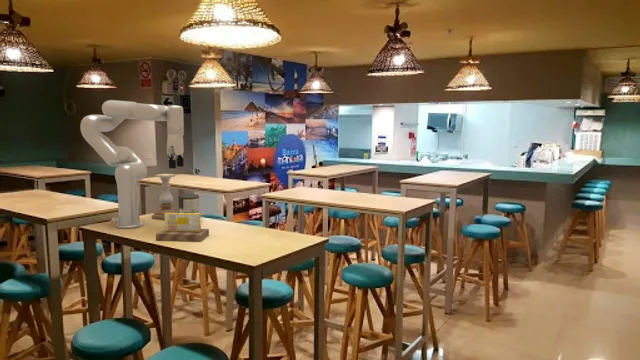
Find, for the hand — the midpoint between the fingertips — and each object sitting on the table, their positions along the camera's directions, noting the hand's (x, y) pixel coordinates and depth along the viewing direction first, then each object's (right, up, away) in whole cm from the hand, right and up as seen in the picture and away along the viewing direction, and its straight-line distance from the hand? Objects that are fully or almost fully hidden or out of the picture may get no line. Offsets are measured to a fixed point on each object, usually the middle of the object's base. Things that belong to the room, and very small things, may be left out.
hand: (176, 167), depth 222 cm
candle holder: (-15, -27, +30) cm, 43 cm away
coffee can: (+1, -29, +19) cm, 35 cm away
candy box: (+7, -29, -14) cm, 33 cm away
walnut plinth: (+7, -32, -14) cm, 36 cm away
